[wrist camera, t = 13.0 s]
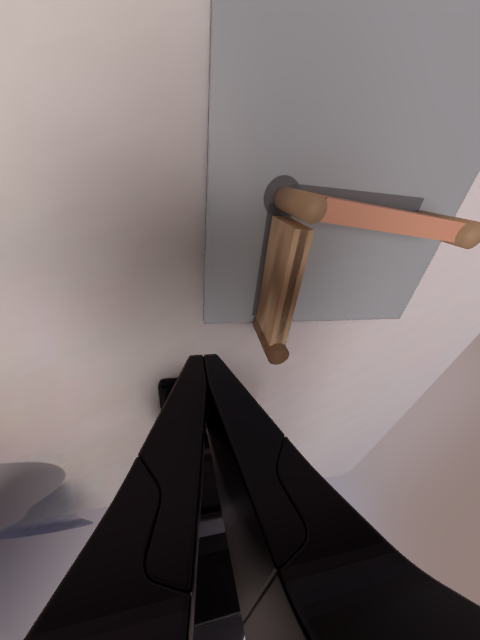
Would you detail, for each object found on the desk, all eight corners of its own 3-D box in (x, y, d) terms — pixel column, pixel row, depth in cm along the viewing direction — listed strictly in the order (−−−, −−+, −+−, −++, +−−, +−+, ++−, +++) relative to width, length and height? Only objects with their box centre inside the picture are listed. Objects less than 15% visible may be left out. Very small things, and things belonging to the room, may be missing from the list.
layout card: (395, 315, 25) (400, 319, 25) (203, 319, 21) (204, 324, 20) (569, -17, 14) (585, -24, 13) (215, -167, 9) (217, -188, 9)
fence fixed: (268, 329, 22) (286, 363, 18) (251, 329, 21) (266, 365, 18) (291, 216, 17) (322, 232, 13) (269, 215, 16) (295, 230, 13)
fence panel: (271, 209, 16) (297, 224, 12) (276, 182, 15) (307, 189, 12) (419, 233, 19) (475, 250, 16) (430, 212, 19) (492, 224, 15)
